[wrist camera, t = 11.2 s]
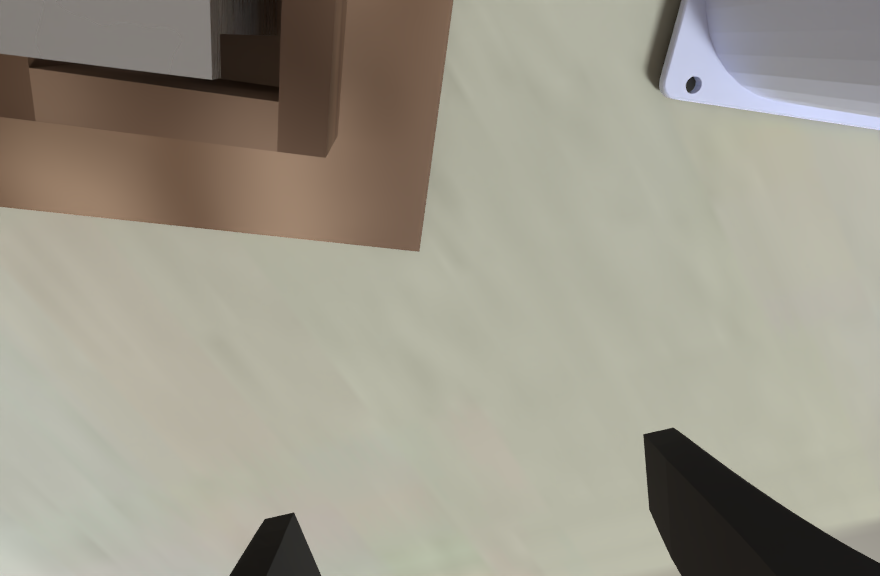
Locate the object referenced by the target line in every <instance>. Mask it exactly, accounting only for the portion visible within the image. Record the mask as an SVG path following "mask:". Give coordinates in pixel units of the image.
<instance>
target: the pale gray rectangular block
mask: <svg viewBox="0 0 880 576" xmlns="http://www.w3.org/2000/svg"><path fill="white" fill-rule="evenodd" d="M220 34H239V35H269V36H277V0H0V54H7V55H15V56H23V57H32V58H40V59H48V60H56V61H64V62H72V63H80V64H88V65H96V66H104V67H113V68H121V69H129V70H137V71H145V72H153V73H161V74H169V75H177V76H185V77H194V78H202V79H210V80H213V79H218V78H221V63H220Z"/></svg>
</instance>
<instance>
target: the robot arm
mask: <svg viewBox="0 0 880 576" xmlns="http://www.w3.org/2000/svg"><path fill="white" fill-rule="evenodd" d="M691 77H694V78H695V80H696V85H695V87H694V89H693V90H692V91H690V92H687V90H686V83H687V81H688V79H690V78H691ZM659 88H660V91H661V93H662V94H663V95H664V96H665V97H668V98H671V99H677V100H684V101H690V102H697V103H703V104H710V105H717V106H723V107H730V108H737V109H743V110H750V111H756V112H763V113H770V114H776V115H783V116H790V117H796V118H803V119H810V120H816V121H823V122H829V123H836V124H843V125H849V126H856V127H863V128H869V129H876V130H880V0H681V4H680V8H679V11H678V15H677V19H676V22H675V26H674V29H673V33H672V37H671V40H670V44H669V48H668V51H667V55H666V58H665V62H664V66H663V69H662V73H661V77H660V81H659ZM643 435H644V448H645V460H646V473H647V485H648V498H649V510H650V512H651V514H652V516H653V519H654V521H655V523H656V525H657V528H658V530H659V532H660V535H661V537H662V539H663V541H664V543H665V545H666V547H667V550H668V552H669V554H670V556H671V558H672V560H673V562H674V563H675V565H676V567H677V569H678V570H679V572H680V574H681V576H880V563H878V562H876V561H875V560H873V559H871V558H869V557H867V556H865V555H863V554H861V553H860V552H858V551H856V550H854V549H852V548H851V547H849V546H847V545H845V544H844V543H842V542H840V541H839V540H837V539H835V538H833V537H832V536H830V535H828V534H827V533H825V532H823V531H822V530H820V529H819V528H817V527H815V526H814V525H812V524H811V523H809V522H807V521H806V520H804V519H803V518H801V517H799V516H798V515H796V514H795V513H793V512H792V511H790V510H788V509H787V508H785V507H784V506H782V505H781V504H779V503H778V502H776V501H775V500H773V499H772V498H770V497H769V496H768V495H766V494H765V493H763V492H762V491H760V490H759V489H757V488H756V487H754V486H753V485H751V484H750V483H748V482H747V481H746V480H744V479H743V478H741V477H740V476H739V475H737V474H736V473H734V472H733V471H732V470H730V469H729V468H727V467H726V466H725V465H723V464H722V463H721V462H719V461H718V460H717V459H715V458H714V457H712V456H711V455H710V454H708V453H707V452H706V451H704V450H703V449H702V448H700V447H699V446H698V445H696V444H695V443H694V442H692V441H691V440H690V439H688V438H687V437H686V436H685V435H683V434H682V433H680V432H679V431H678V430H676V429H675V428H670V429H665V430H661V431H656V432H652V433H648V434H643ZM230 576H321V574H320V572H319V570H318V567H317V565H316V563H315V560H314V558H313V556H312V553H311V551H310V549H309V546H308V544H307V542H306V539H305V537H304V535H303V532H302V530H301V528H300V525H299V523H298V521H297V518H296V516H295V514H294V513H290V514H286V515H281V516H277V517H272V518H268V519H265V520H264V521H263V523H262V524H261V526H260V527H259V529H258V531H257V532H256V534H255V535H254V537H253V538H252V540H251V542H250V543H249V545H248V546H247V548H246V550H245V551H244V553H243V555H242V556H241V558H240V559H239V561H238V563H237V564H236V566H235V568H234V569H233V571H232V572H231V574H230Z"/></svg>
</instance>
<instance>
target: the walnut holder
mask: <svg viewBox="0 0 880 576" xmlns="http://www.w3.org/2000/svg"><path fill="white" fill-rule="evenodd" d="M452 6H453V0H277V36H269V35H239V34H220V63H221V78H218V79H213V80H210V79H202V78H194V77H185V76H177V75H169V74H161V73H153V72H145V71H137V70H129V69H121V68H113V67H104V66H96V65H88V64H80V63H72V62H64V61H56V60H48V59H40V58H32V57H23V56H15V55H7V54H0V207H8V208H18V209H27V210H36V211H46V212H55V213H64V214H74V215H83V216H92V217H102V218H111V219H120V220H130V221H139V222H148V223H158V224H167V225H176V226H186V227H195V228H204V229H214V230H223V231H232V232H242V233H251V234H260V235H270V236H279V237H288V238H298V239H307V240H316V241H326V242H335V243H344V244H354V245H363V246H372V247H382V248H391V249H400V250H410V251H419V249H420V242H421V235H422V227H423V220H424V213H425V205H426V198H427V190H428V183H429V176H430V168H431V161H432V153H433V146H434V139H435V131H436V124H437V117H438V109H439V102H440V94H441V87H442V80H443V72H444V65H445V57H446V50H447V43H448V35H449V28H450V21H451V13H452Z"/></svg>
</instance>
